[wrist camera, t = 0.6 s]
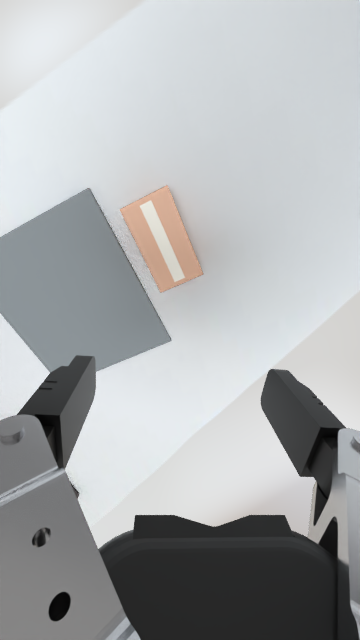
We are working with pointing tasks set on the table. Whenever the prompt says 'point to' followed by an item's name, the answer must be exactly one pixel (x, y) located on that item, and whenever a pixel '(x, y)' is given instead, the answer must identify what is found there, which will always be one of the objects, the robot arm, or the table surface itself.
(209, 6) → the table surface
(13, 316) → the mat
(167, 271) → the box
